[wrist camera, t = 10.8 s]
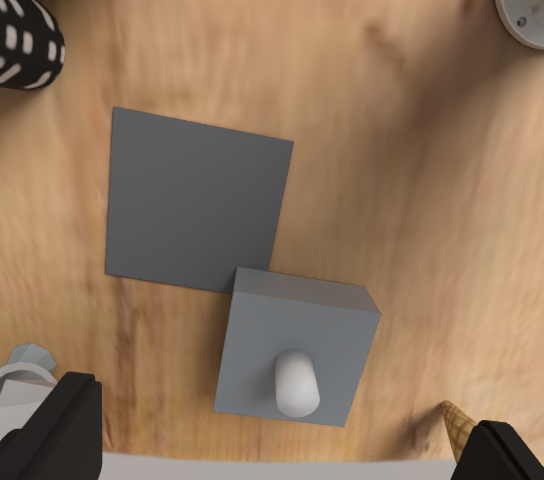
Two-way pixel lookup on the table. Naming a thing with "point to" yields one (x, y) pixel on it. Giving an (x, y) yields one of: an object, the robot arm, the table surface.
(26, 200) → the table surface
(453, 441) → the ice cream cone
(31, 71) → the spotted tube
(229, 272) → the rubber mat
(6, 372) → the jet engine
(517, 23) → the robot arm
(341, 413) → the lid
